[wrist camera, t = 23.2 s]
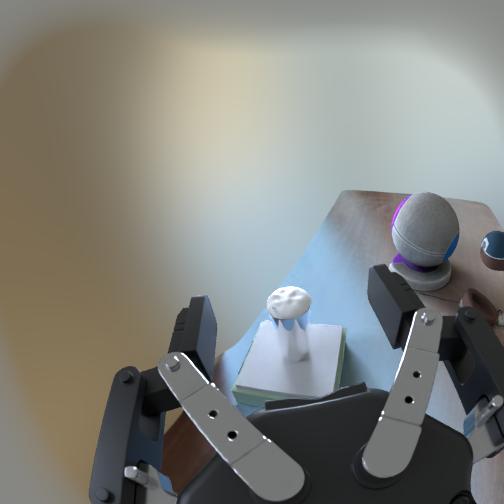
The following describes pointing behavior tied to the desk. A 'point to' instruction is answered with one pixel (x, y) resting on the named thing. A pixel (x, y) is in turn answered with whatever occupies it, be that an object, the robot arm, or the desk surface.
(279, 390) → the scale
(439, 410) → the desk surface
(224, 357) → the desk surface
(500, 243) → the headphones
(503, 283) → the desk surface
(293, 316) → the milkshake
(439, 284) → the webcam
